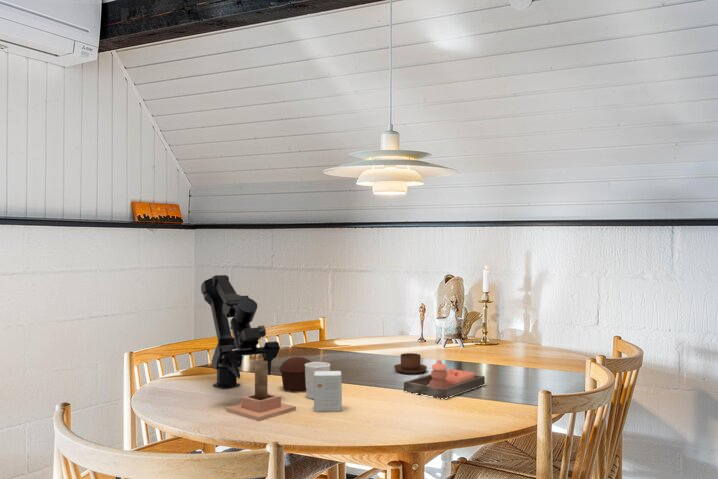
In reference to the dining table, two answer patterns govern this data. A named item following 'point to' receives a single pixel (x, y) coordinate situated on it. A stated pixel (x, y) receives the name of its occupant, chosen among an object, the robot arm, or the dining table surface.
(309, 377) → the white cup
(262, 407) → the pink square stand base
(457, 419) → the dining table surface
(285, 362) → the muffin
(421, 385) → the dark grey tray
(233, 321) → the robot arm
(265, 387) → the thick brown pillar
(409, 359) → the cup and saucer
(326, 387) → the small box
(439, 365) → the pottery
